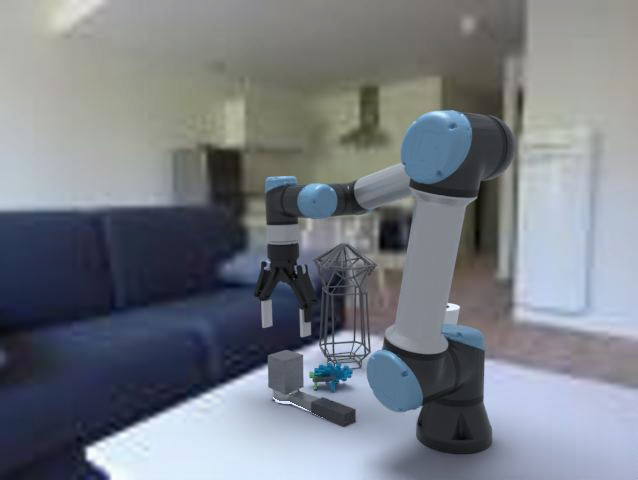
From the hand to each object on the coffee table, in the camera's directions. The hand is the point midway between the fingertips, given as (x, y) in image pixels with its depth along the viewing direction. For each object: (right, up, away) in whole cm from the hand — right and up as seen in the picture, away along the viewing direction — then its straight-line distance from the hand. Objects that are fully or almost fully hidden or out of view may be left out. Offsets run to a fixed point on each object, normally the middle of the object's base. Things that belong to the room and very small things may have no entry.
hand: (285, 331), depth 136 cm
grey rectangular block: (0, -14, +2) cm, 14 cm away
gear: (+11, -16, +10) cm, 22 cm away
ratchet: (+6, -17, -4) cm, 19 cm away
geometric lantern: (+15, -14, +26) cm, 34 cm away
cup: (+41, -14, +21) cm, 48 cm away
